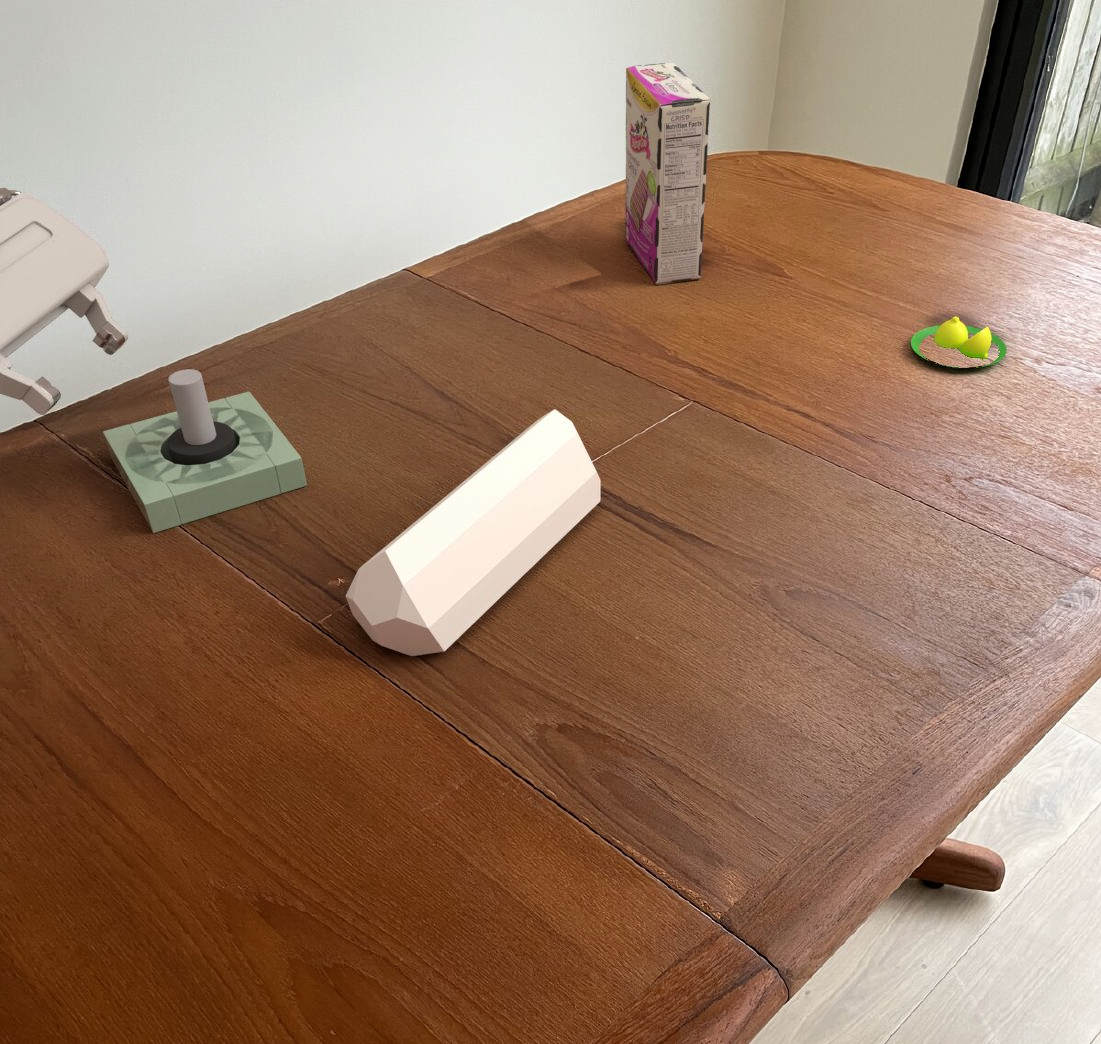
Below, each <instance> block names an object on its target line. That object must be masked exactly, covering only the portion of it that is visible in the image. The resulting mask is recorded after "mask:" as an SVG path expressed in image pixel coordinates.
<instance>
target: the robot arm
mask: <svg viewBox="0 0 1101 1044" xmlns="http://www.w3.org/2000/svg"><path fill="white" fill-rule="evenodd" d="M109 267H110V261H109V259H108V256H107V253H106V252H105V249H104V248H103V247H102V246H101V245H100V244H98V243H97V242H96V241H95V240H94V239H93V238H91V236H89V235H88V234H87V233H86V232H84V231H83V230H82V229H81V228H79V227H78V226H77V225H75V224H74V222H72V221H71V220H69V219H68V218H67V217H65V216H64V215H63V214H61V213H60V212H59V211H58V210H56V209H55V208H53V207H51V206H50V205H48V204H47V203H45V202H43V201H42V200H40V199H37V198H35V197H34V196H33V195H31V194H30V193H28V192H26V191H19V190H15V189H8V188H7V187H0V395H3V396H5V397H9V398H12V399H14V400H18V401H22V402H24V403H25V404H26V405H27V406H29V408H31V409H32V410H33V411H34V412H36V413H37V414H38V415H41V416H43V415H46V414H47V413H48V412H49V411H50V410H52V409H53V408H54V406H56V405H57V404H58V402H59V400H60V399H61V398H62V394H61V391H60V390H59V389H58V388H57V387H56V386H53V385H52V383H51V382H50V381H49V380H47V378H45V377H44V376H41V377H40V378H38V379H37V380H35V379H32V378H30V377H28V376H26V375H23V374H21V373H19V372H17V371H14V370H13V369H12V367H13V363H12V362H11V361H10V360H9V359H8V357H9V356H10V355H12V354H13V353H14V352H16V351H17V350H18V349H19V348H21V347H22V346H23V345H24V344H26V343H27V342H29V340H31V339H32V338H33V337H35V336H37V334H38V333H40V332H41V331H43V329H44V328H46V327H47V326H49V325H50V324H52V322H54V321H55V320H56V319H57V318H59V317H60V316H61V315H62V314H64V313H65V312H67V311H68V310H70V311H72V312H73V313H74V314H75V315H76V316H77V317H78V318H81V319H82V318H83V317H86V319H87V321H88V323H89V325H90V326H91V328H92V330H93V331H94V333H95V336H94V337H93V339H92V342H93V343H94V344H95V345H97V346H98V348H101V349H102V350H103V352H104V353H106V354H107V355H109V356H112V355H114V354H116V353H117V352H118V351H119V350H121V348H123V346H124V345H125V343H126V342H127V341H128V339H129V334H128V332H127V331H126V330H125V329H124V328H123V327H121V325H119V324H118V323H117V321H115V320H114V319H113V315H112V314H111V312H110V310H109V307H108V305H107V303H106V301H105V299H104V296H103V294H102V293H101V292H99V290H97V289H96V287H97V286H98V284H99V283H100V281H101V280H102V278H103V277H104V275H105V274H106V272H107V270H108V269H109Z"/></svg>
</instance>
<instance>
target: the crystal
mask: <svg viewBox="0 0 1101 1044" xmlns="http://www.w3.org/2000/svg"><path fill="white" fill-rule="evenodd" d="M601 483H602V482H601V478H600V476H599V474H598V471H597V469H596V467H595V465H594V463H593V460H592V459H591V457H590V455H589V453H588V451H587V448H586V447H585V445H584V443H583V441H582V438H581V436H580V435H579V433H578V431H577V429H576V426H575V425H574V423H573V421H572V420H571V419H569V418H568V417H566V416H564V415H563V414H562V413H561V412H560V411H558V410H557V409H556V408H555V409H552V410H551V411H548V412H547V413H545V414H544V415H543V416H541V417H540V418H539V419H537V420H536V421H535V422H533V423H532V424H531V425H529V426H528V427H527V428H526V429H525V430H524V431H522V432H521V433H520V434H519V435H518V436H517V437H515V438H514V439H513V440H511V441H510V442H509V443H508V444H507V445H506V446H504V447H503V448H502V449H501V450H499V451H498V452H497V453H496V454H494V456H492V457H491V458H490V459H489V460H487V461H486V462H485V463H484V464H483V465H481V466H480V467H479V468H478V469H477V470H476V471H474V472H473V473H471V475H469V476H468V477H467V478H466V479H465V480H464V481H461V483H460V484H459V485H457V486H456V487H455V488H454V489H452V491H450V492H449V493H448V494H447V495H446V496H444V497H443V498H442V499H440V500H439V501H438V502H437V503H436V504H435V505H433V506H432V507H431V508H430V509H429V510H427V511H426V512H425V513H424V514H423V515H421V516H420V517H419V518H418V519H417V520H416V521H414V522H413V523H412V524H410V525H409V526H408V527H407V528H406V529H404V530H403V531H402V532H401V533H400V534H399V535H397V536H396V537H395V538H393V540H391V541H390V542H389V543H387V544H386V545H385V546H384V547H383V548H382V549H381V550H379V551H378V552H377V553H375V555H373V556H372V557H371V558H369V560H367V561H366V562H365V563H363V565H361V566H360V567H359V568H358V569H357V571H356V574H355V575H354V578H353V580H352V582H351V584H350V585H349V588H348V590H347V591H346V594H345V599H346V601H347V604H348V607H349V609H350V612H351V614H352V616H353V617H354V619H355V620H356V621H357V623H358V624H359V625H360V626H361V628H362V629H363V630H364V632H365V633H366V634H367V636H369V638H370V639H371V641H373V642H374V643H377V644H378V645H379V646H381V647H384V648H387V649H389V650H392V651H396V652H399V653H401V654H404V655H407V656H410V657H416V656H423V655H430V654H436V653H437V654H438V653H444V652H446V651H447V649H449V648H450V647H451V646H452V645H453V644H454V643H455V642H456V641H457V640H458V639H460V637H461V636H462V635H463V634H464V633H465V632H466V631H468V629H469V628H470V627H472V625H474V624H475V623H476V622H477V621H478V620H479V619H480V618H481V617H482V616H483V615H484V614H485V613H486V612H487V611H488V610H489V609H491V607H493V606H494V604H495V603H497V601H498V600H500V598H502V597H503V596H504V595H505V594H506V593H507V592H508V591H509V590H510V589H511V588H512V587H513V586H514V585H515V584H516V583H518V581H519V580H520V579H521V578H522V577H523V576H524V575H526V573H528V572H529V571H530V570H531V569H532V568H533V567H534V566H535V565H536V564H537V563H538V562H539V561H540V560H541V559H542V558H543V557H544V556H545V555H546V554H547V553H549V551H550V550H552V548H554V546H555V545H556V544H558V543H559V542H560V541H561V540H562V539H563V538H564V537H565V536H566V535H567V534H568V533H569V532H570V531H571V530H572V529H574V528H575V526H576V525H577V524H578V523H580V521H582V520H583V519H584V518H585V517H586V516H587V515H588V514H589V513H590V512H591V511H592V510H594V508H595V507H596V506H597V505H598V504H599V503H600V502H601V488H602V487H601Z"/></svg>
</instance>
